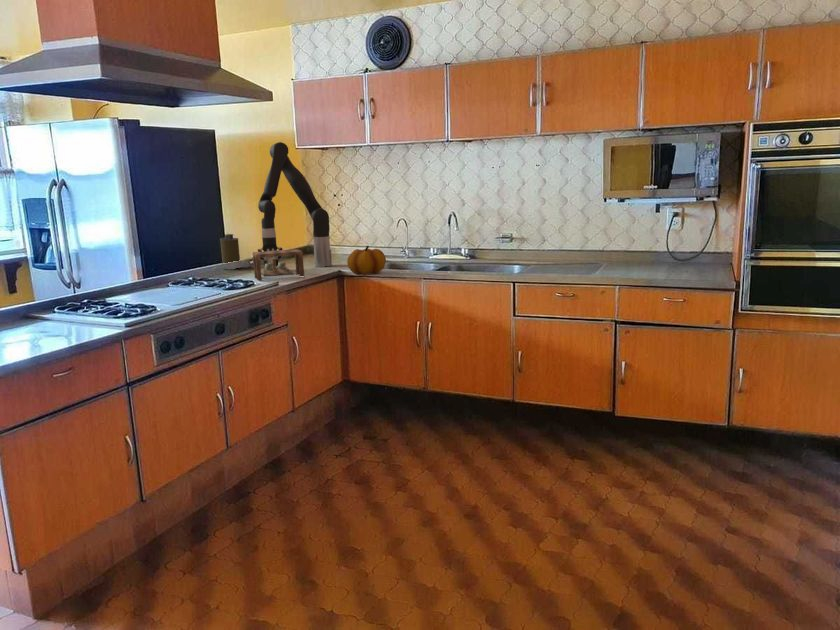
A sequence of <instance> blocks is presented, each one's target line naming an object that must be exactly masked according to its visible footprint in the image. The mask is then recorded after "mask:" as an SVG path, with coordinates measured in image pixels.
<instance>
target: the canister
mask: <svg viewBox="0 0 840 630" xmlns="http://www.w3.org/2000/svg"><path fill="white" fill-rule="evenodd" d="M219 245H220V254H221V262H222V264H221V265H223V263H228V262H233V261H239V260H240V261H241V257H240V256H241V255H240V245H239V238H237V237H234V234H233V233H227V234H225V235H224V237H221V238H219Z"/></svg>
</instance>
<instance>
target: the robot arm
mask: <svg viewBox="0 0 840 630" xmlns="http://www.w3.org/2000/svg"><path fill="white" fill-rule="evenodd" d="M269 155H270V157H271V159H272V160H271V164H270V169H269V171H268V173H267V174H268V175H267V177H266V179H265V184H264V187H263V192H262V194H261V196H260V198H259V201H258V206H257V207H258V210H259V212H261V213H263V217H262V218H261V239H262V248H258V249H257V252H264V251H278V250H283V247H280V246H279V247H278V246H277V245H278V244H277V234H276V228H275V227H276V225H275V217H276V205H275V203H274V201H273V198H275V197H276V196H277V192H278V187H279V184H280V179H281V175H282V174H283V175H284V177H285V179H286V180H287V182H288V184H289V185H290V187H291V189H292V191H293V192H294V193H295V195H296V196H297V197H298V199H299V200H300V201H301V202H302V203H303V205H304V207H305V208H306V210H307V211H308V215H309V216H310V218H311V221H312V225H313V227H312V228H313V229H312V230H313V232H312V236H313V237H312V238H313V239H312V241H313V252H314V253H313V254H314V265H315V267H316V268H324V267H325V266H327V267H332V266H333V264H332V262H333V261H332V258H333V257H332V249H331V243H330V242H331V241H330V232H331V231H330V216H329V215H330V214H329V212H328V211H327V210H325V209H324V208H323V207H322V205H320V203H319V201H318V200H317V199H316V197H315V195H314V192H313V190H312V188H311V185H310V183H309V182H308V180H307V179H306V177H305V176H304V174H303V173H302V172H301V171H300V169H298V168H297V167H296V166H295V165H294V164H293V163H292V161H291V160H290V157H289V156H288V155H289V147H288V145H287V144H286V143H284V142H282V141H279V142H276V143H274V144H272V145H271V146H270V147H269ZM273 257H274V258H275V261H276V267H278V263H279V259H282V256H273ZM267 258H268V257H260V261H261V260H262V261H263V265H264V267H265V264H268V260H267ZM331 265H332V266H331Z"/></svg>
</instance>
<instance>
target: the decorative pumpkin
mask: <svg viewBox="0 0 840 630" xmlns="http://www.w3.org/2000/svg"><path fill="white" fill-rule="evenodd" d="M348 255H349V256H348V257H347V259H346V260H347V261H346V263H347V267H348V269H349V270H350V272H352V273H353V274H356V275H364V276H368V275H371V274H373V275H376V274H379V273H380V272H382V270H384V268H385V265H386V262H387V261H386V260H387V258H386V255H385V253H384V252H383V251H382V250H380V248H379V249H378V248H373V249H370V246H369V245H366V247H365V248H364V249H359V248H358V249H354V250H353V251H351V253H350V254H348Z"/></svg>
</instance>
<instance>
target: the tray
mask: <svg viewBox="0 0 840 630" xmlns="http://www.w3.org/2000/svg"><path fill="white" fill-rule="evenodd" d="M267 258H268V260H267V261H268V262H267V264H265V266H264V267H263V268H261V276H263V277H268V276H269V275H272V276H280V275H279V274H285V275H290V274H291V271H290V270H291V269H290V268H288V267H287V266H286V264H287V263H286V262H278V265H277V266H276V261H275V257H274V256H272V257H267ZM289 273H290V274H289ZM269 277H270V276H269Z"/></svg>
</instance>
